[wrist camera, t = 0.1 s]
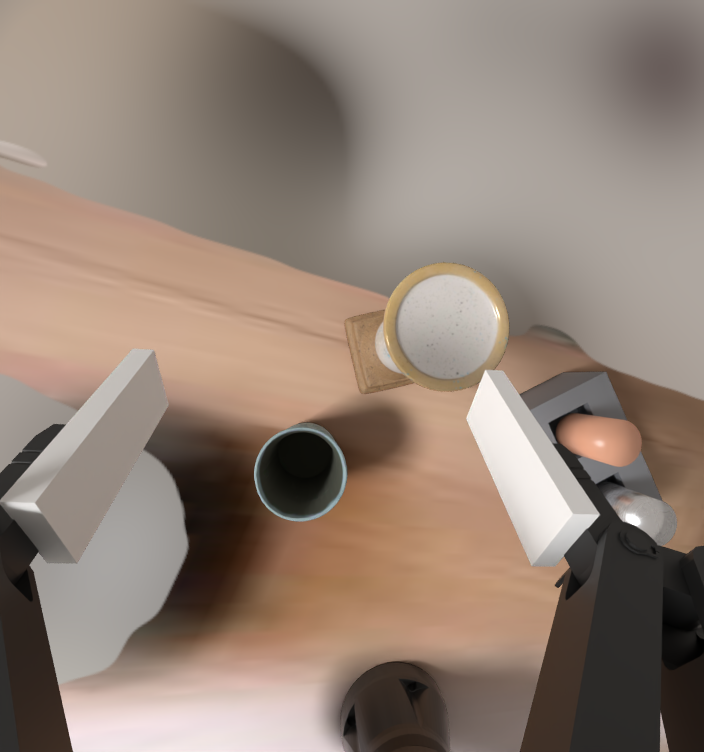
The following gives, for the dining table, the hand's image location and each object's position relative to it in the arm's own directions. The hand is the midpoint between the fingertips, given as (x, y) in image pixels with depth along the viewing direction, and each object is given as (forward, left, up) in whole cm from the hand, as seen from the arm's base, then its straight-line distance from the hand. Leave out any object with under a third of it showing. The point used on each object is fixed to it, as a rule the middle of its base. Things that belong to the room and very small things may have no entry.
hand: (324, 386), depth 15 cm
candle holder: (0, -11, -36) cm, 38 cm away
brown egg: (-20, -27, -28) cm, 44 cm away
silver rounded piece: (-30, -27, -28) cm, 49 cm away
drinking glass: (-8, +6, -36) cm, 38 cm away
